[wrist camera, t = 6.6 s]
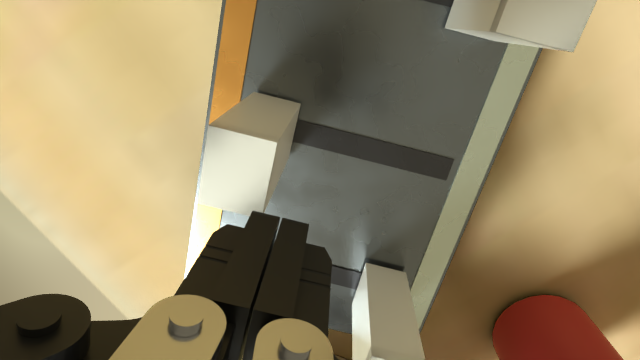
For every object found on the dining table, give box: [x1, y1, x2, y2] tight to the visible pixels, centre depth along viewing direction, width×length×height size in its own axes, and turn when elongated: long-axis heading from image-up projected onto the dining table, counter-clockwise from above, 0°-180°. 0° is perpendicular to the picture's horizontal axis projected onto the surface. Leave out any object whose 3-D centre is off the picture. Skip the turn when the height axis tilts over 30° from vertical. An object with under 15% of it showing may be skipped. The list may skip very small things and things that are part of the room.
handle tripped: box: [197, 92, 301, 216], centre depth 17 cm, size 2×3×7 cm
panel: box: [184, 0, 542, 334], centre depth 23 cm, size 15×24×4 cm, turn 167°
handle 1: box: [352, 263, 425, 360], centre depth 21 cm, size 2×3×7 cm
